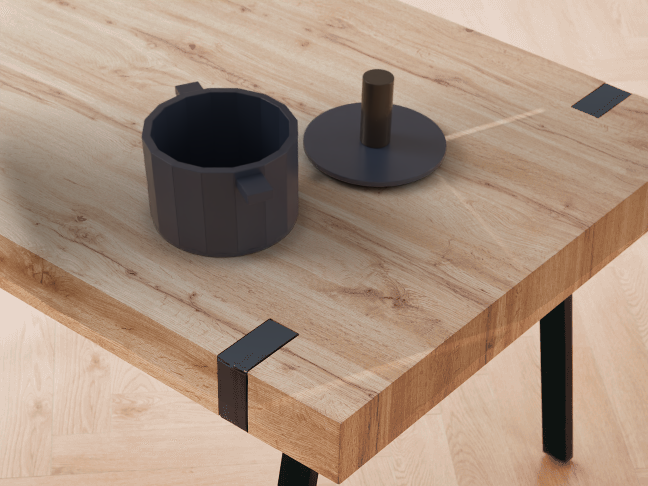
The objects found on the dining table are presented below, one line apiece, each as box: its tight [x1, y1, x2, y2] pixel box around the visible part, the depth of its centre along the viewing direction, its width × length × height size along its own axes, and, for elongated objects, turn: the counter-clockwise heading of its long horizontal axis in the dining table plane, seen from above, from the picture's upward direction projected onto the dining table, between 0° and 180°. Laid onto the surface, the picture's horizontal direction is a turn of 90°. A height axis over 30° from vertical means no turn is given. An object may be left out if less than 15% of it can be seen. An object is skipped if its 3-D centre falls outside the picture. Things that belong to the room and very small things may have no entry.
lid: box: [302, 68, 448, 188], centre depth 110 cm, size 15×15×9 cm
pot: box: [141, 80, 299, 258], centre depth 101 cm, size 14×19×10 cm
